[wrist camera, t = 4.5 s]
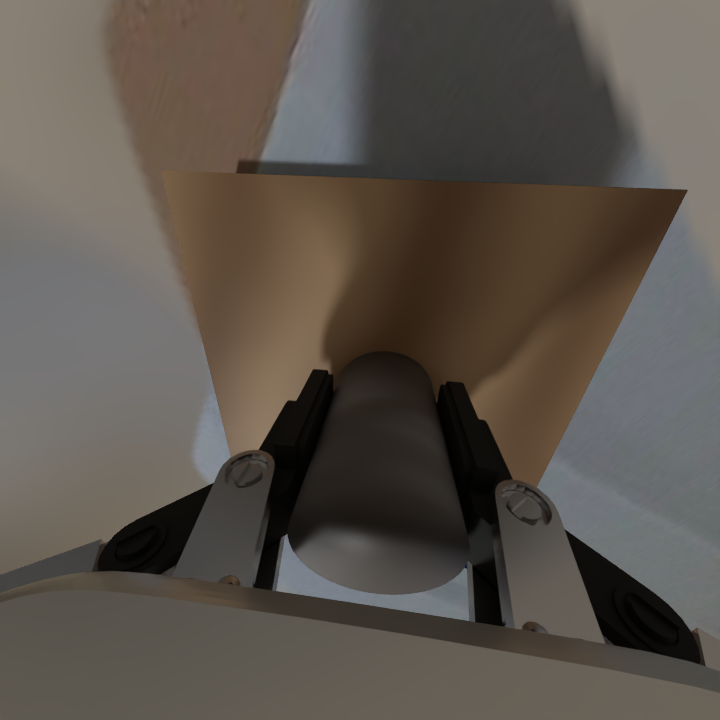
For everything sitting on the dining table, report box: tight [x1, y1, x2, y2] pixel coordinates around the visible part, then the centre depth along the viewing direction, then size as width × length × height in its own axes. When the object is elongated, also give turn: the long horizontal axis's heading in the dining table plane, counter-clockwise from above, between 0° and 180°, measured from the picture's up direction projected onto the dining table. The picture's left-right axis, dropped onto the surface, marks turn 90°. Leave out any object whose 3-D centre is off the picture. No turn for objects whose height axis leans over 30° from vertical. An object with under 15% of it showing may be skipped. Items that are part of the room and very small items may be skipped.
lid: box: [161, 171, 688, 595], centre depth 9 cm, size 15×15×7 cm
